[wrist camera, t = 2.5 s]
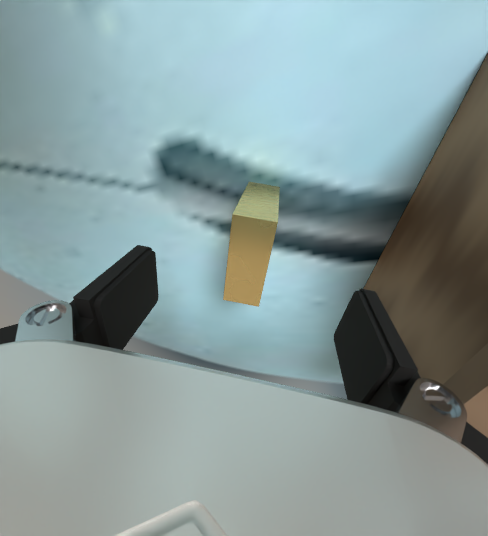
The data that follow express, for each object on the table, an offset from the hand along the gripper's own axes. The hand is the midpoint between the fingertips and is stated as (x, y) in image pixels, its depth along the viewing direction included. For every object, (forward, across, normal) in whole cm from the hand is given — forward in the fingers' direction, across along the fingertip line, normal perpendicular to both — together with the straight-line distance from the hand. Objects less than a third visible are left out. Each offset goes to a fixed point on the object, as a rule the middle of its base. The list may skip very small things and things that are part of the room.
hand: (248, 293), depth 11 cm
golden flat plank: (+7, 0, -1) cm, 7 cm away
